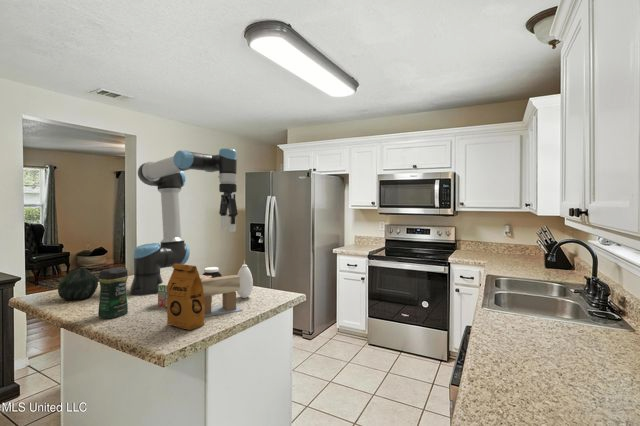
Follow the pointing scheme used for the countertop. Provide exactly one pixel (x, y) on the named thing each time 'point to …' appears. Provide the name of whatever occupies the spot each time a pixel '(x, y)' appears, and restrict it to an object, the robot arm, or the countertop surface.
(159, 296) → the stack of blocks
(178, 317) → the coffee package
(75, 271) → the squash
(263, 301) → the countertop surface
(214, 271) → the spread jar
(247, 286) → the sauce bottle
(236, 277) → the bar
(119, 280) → the coffee jar
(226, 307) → the build board
